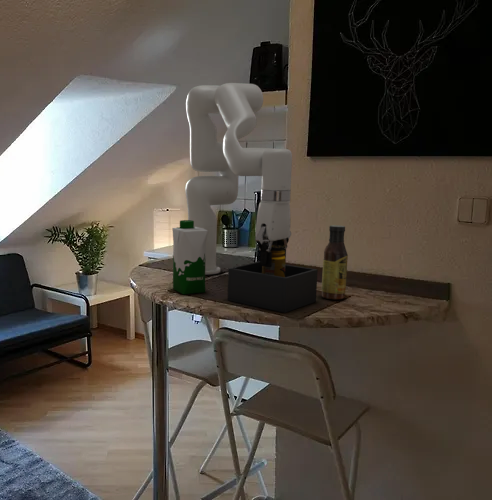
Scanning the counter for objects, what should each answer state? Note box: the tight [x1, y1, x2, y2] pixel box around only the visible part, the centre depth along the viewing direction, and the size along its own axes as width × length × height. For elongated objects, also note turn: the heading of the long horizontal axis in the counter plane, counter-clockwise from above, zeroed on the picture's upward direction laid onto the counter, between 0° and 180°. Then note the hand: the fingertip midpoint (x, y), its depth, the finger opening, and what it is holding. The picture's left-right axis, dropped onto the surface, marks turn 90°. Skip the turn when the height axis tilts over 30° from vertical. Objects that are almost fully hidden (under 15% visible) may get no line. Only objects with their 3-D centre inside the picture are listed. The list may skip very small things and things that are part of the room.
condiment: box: [262, 244, 287, 277], centre depth 154 cm, size 7×8×12 cm
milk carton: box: [172, 219, 208, 295], centre depth 165 cm, size 9×9×20 cm
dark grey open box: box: [227, 260, 319, 314], centre depth 155 cm, size 18×16×9 cm
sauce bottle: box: [321, 224, 349, 301], centre depth 158 cm, size 6×6×20 cm
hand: (272, 264), depth 154 cm, fingers closed on condiment, 6 cm apart
